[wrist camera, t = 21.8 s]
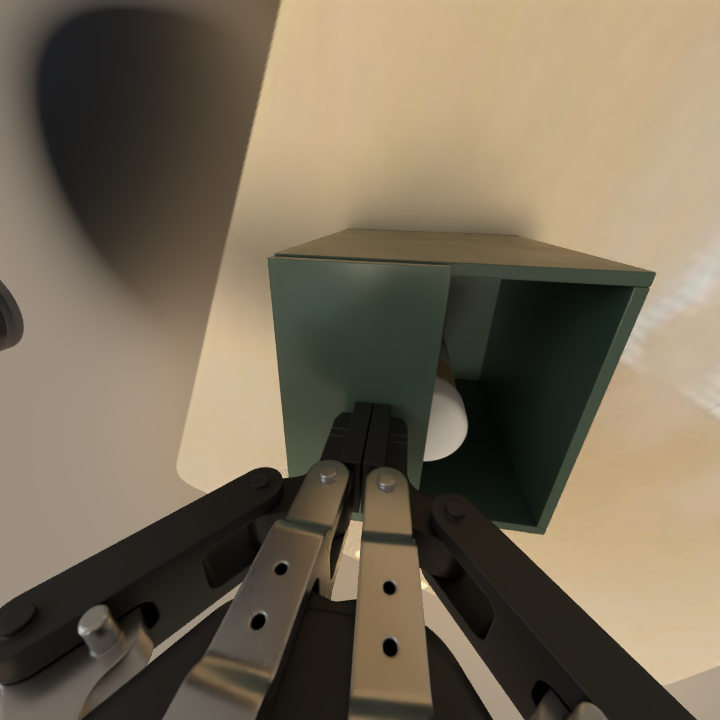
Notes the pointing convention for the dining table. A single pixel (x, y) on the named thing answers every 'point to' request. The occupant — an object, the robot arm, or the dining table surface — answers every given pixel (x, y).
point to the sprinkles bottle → (445, 412)
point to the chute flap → (355, 347)
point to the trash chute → (514, 356)
